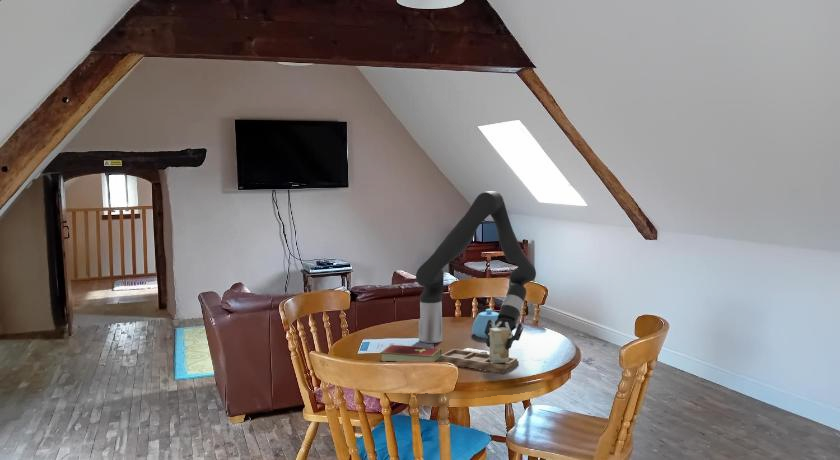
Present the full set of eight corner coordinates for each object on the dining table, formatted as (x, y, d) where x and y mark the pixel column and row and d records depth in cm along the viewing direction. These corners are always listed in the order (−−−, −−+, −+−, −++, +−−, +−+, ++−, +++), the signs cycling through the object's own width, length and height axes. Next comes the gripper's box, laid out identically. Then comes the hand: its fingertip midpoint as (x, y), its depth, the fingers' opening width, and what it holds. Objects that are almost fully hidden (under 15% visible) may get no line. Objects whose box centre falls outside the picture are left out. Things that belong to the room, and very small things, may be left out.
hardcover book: (391, 354, 257) (391, 343, 257) (441, 357, 250) (441, 347, 250) (380, 362, 246) (380, 351, 245) (432, 366, 239) (432, 355, 239)
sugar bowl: (508, 339, 275) (508, 312, 274) (473, 339, 275) (473, 313, 274) (504, 330, 290) (504, 305, 289) (471, 331, 290) (470, 306, 289)
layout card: (458, 353, 254) (458, 351, 254) (467, 349, 260) (467, 347, 260) (485, 357, 247) (485, 355, 247) (493, 353, 253) (493, 351, 253)
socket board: (438, 363, 242) (438, 356, 241) (455, 354, 252) (455, 348, 252) (503, 374, 227) (503, 366, 226) (518, 364, 238) (518, 357, 237)
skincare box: (493, 363, 232) (493, 330, 231) (489, 360, 236) (488, 328, 235) (509, 362, 233) (509, 329, 232) (505, 358, 238) (504, 326, 237)
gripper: (490, 302, 243) (476, 339, 234) (525, 305, 235) (512, 344, 226) (497, 313, 248) (483, 350, 239) (531, 317, 240) (518, 355, 231)
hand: (497, 347), depth 233 cm, fingers closed on skincare box, 7 cm apart
